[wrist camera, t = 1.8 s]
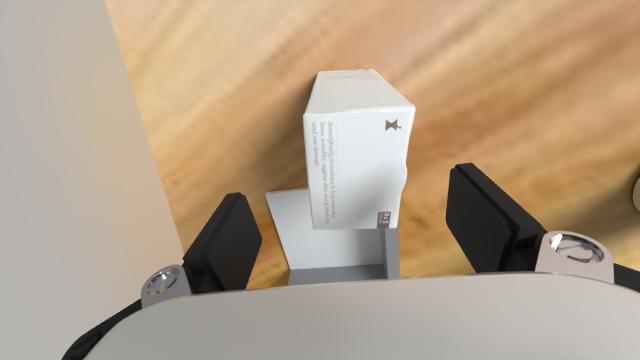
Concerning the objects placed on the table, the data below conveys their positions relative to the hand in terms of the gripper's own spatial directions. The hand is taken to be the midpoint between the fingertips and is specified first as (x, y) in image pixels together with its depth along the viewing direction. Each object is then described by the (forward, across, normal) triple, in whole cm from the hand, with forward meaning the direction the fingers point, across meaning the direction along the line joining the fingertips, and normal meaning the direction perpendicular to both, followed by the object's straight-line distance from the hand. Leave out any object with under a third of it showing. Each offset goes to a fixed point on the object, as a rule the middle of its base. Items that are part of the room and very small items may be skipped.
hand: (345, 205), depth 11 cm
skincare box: (+18, -1, 0) cm, 18 cm away
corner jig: (+18, +3, +17) cm, 25 cm away
